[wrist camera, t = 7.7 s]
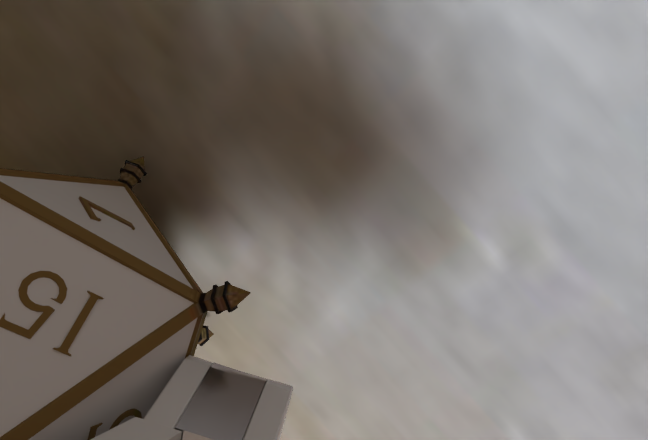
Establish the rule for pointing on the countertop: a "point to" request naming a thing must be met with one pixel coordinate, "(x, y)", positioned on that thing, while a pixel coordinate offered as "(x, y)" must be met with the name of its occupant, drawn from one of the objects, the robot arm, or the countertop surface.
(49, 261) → the game die
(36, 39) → the countertop surface
